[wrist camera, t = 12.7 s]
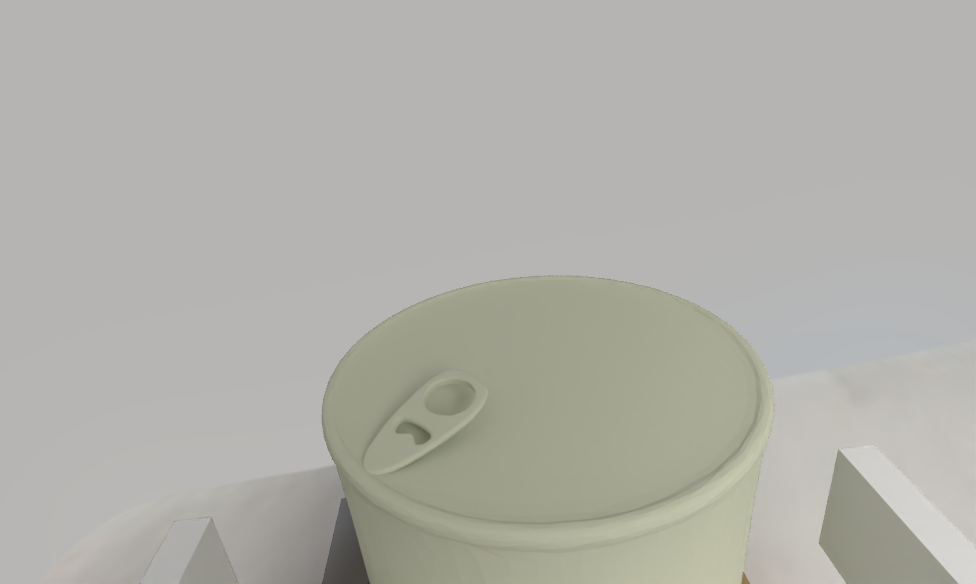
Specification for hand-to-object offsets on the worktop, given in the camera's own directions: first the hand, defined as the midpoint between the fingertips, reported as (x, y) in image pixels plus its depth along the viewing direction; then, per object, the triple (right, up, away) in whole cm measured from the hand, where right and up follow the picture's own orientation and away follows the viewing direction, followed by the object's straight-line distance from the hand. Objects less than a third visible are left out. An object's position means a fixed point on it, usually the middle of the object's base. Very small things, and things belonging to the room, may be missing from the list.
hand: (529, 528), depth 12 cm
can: (+1, -7, +5) cm, 9 cm away
